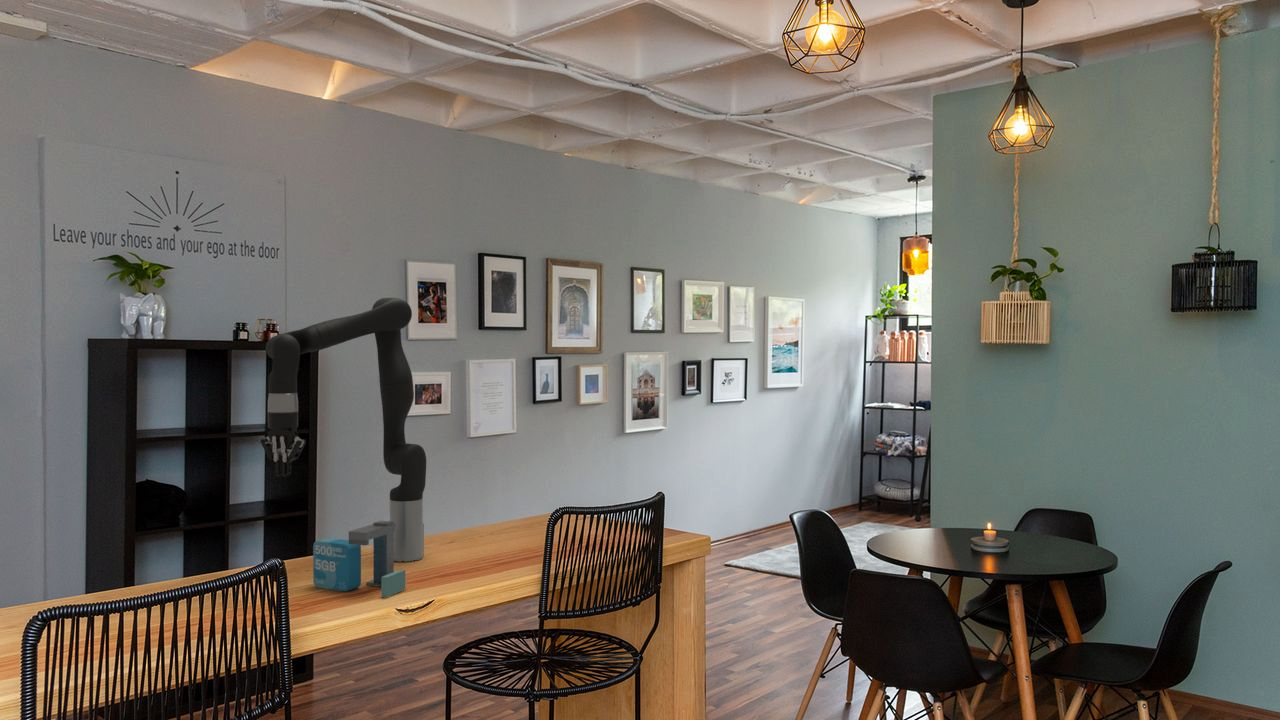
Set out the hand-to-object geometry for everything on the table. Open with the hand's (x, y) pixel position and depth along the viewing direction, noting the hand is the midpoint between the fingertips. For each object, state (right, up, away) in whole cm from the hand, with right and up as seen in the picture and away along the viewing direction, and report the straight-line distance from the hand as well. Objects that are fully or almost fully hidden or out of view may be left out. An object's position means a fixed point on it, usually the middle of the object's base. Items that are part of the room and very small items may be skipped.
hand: (283, 475), depth 247 cm
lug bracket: (+27, -27, -10) cm, 40 cm away
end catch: (+33, -27, -16) cm, 46 cm away
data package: (+18, -27, -10) cm, 34 cm away
